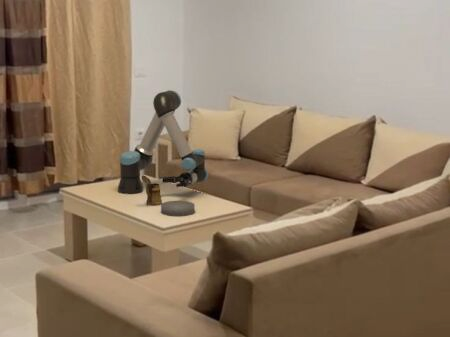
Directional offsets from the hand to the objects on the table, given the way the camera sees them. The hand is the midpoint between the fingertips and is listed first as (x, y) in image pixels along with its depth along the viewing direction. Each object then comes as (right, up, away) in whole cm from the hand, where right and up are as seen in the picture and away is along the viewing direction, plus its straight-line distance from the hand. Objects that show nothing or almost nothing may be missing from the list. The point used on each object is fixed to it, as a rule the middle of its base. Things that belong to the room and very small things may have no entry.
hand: (163, 184), depth 424 cm
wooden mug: (-6, -11, -5) cm, 14 cm away
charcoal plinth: (+10, -14, -20) cm, 27 cm away
